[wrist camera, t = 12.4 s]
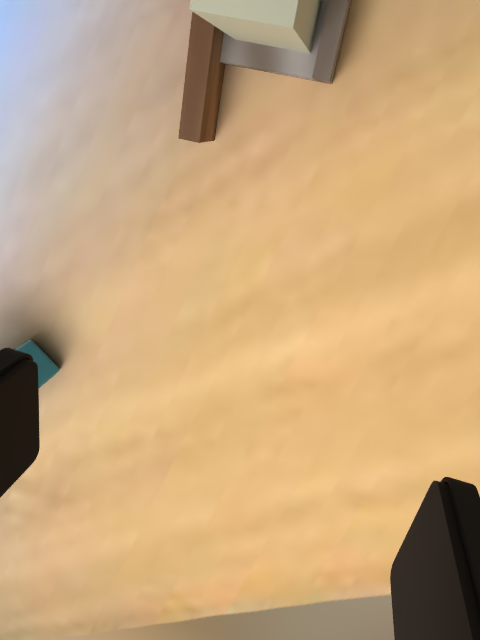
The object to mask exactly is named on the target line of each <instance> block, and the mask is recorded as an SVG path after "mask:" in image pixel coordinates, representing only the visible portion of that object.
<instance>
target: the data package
mask: <svg viewBox="0 0 480 640" xmlns="http://www.w3.org/2000/svg"><path fill="white" fill-rule="evenodd" d="M14 350H18V351H21V352H24V353H28V354H30V355H31V356H32V357H33V362H36V363H37V365H38V388H40V387H41V386H42V385H43V384H44V383H45V382H47V381H48V380H49V379H50V378H51V377H53V376H54V375H55V374H56V373H57V372H58V371H59V368H58V367H57V366H56V365H55V364H54V363H53V362H52V361H51V360H50V359H49V357H48V356H47V355H46V354H45V353H44V352H43V351H42V350H41V349H40V348H39V347H38V346H37V345H36V344H35V343H34V342H33V341H32V340H28V341H26V342H25V343H23V344H22V345H20V346H19V347H17V348H16V349H14Z"/></svg>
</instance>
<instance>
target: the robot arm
mask: <svg viewBox="0 0 480 640" xmlns="http://www.w3.org/2000/svg"><path fill="white" fill-rule="evenodd" d="M38 452H39V394H38V365H37V363H36V362H33V357H32V356H31V355H30V354H28V353H24V352H21V351H18V350H14V349H11V348H5V349H2V350H1V351H0V497H1V496H2V495H3V494H4V493H5V492H6V491H7V490H8V489H9V488H10V487H11V486H12V484H13V483H14V482H15V481H16V480H17V479H18V478H19V477H20V476H21V475H22V474H23V473H24V472H25V471H26V470H27V469H28V468H29V466H30V465H31V464H32V463H33V462H34V461H35V459H36V457H37V455H38ZM390 581H391V595H392V608H393V623H394V635H395V640H480V497H479V494H478V491H477V488H476V486H474V485H473V484H470V483H466V482H463V481H460V480H456V479H453V478H449V477H444V478H443V479H442V481H441V482H439V481H433V482H432V484H431V486H430V488H429V490H428V492H427V494H426V496H425V498H424V500H423V502H422V504H421V506H420V508H419V510H418V512H417V514H416V516H415V519H414V521H413V523H412V525H411V527H410V529H409V531H408V533H407V535H406V537H405V539H404V541H403V543H402V545H401V547H400V549H399V552H398V554H397V556H396V558H395V560H394V562H393V565H392V569H391V577H390Z"/></svg>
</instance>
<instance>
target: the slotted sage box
mask: <svg viewBox="0 0 480 640" xmlns="http://www.w3.org/2000/svg"><path fill="white" fill-rule="evenodd" d="M321 4H322V0H190V9H189V10H191V11H193V12H194V13H196V14H197V15H199V16H200V17H202V18H203V19H205V20H206V21H208V22H209V23H211V24H212V25H214V26H215V27H217V28H218V29H220V30H221V31H223V32H224V33H226V34H228V35H229V36H231V37H232V38H234V39H235V40H241V41H246V42H251V43H257V44H262V45H268V46H273V47H278V48H284V49H289V50H295V51H300V52H305V53H311V50H312V46H313V41H314V36H315V32H316V27H317V22H318V18H319V13H320V9H321Z"/></svg>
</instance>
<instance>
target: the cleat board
mask: <svg viewBox="0 0 480 640" xmlns="http://www.w3.org/2000/svg"><path fill="white" fill-rule="evenodd" d="M350 5H351V0H322V4H321V9H320V13H319V18H318V22H317V27H316V32H315V36H314V41H313V46H312V50H311V53H305V52H300V51H295V50H289V49H284V48H278V47H273V46H268V45H262V44H257V43H251V42H246V41H241V40H235V39H234V38H232V37H231V36H229V35H228V34H226V33H224V32H223V31H221V30H220V29H218V28H217V27H215V26H214V25H212V24H211V23H209V22H208V21H206V20H205V19H203V18H202V17H200V16H199V15H197V14H196V13H194V12H192V21H191V30H190V39H189V48H188V57H187V66H186V75H185V84H184V93H183V102H182V111H181V120H180V129H179V139H184V140H189V141H193V142H198V143H201V142H207V141H214V139H215V132H216V125H217V118H218V111H219V103H220V96H221V89H222V82H223V75H224V68H225V64H228V65H234V66H239V67H244V68H249V69H255V70H260V71H265V72H271V73H276V74H281V75H287V76H292V77H297V78H303V79H308V80H313V81H319V82H324V83H329V84H332V81H333V77H334V73H335V68H336V64H337V60H338V56H339V51H340V47H341V43H342V39H343V34H344V30H345V26H346V22H347V17H348V13H349V9H350Z"/></svg>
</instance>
